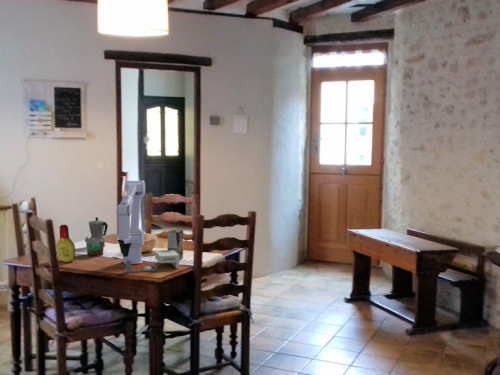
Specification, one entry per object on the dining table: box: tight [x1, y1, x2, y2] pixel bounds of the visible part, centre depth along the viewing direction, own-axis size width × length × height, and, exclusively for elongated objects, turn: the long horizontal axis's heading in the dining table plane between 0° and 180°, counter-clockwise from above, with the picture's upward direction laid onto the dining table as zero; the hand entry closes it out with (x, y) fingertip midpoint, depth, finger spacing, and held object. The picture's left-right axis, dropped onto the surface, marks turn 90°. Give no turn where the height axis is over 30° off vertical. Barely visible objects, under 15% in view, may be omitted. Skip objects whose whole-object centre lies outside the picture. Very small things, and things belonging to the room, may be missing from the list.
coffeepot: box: [88, 217, 109, 247], centre depth 345 cm, size 15×9×18 cm, turn 59°
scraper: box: [125, 260, 158, 274], centre depth 290 cm, size 15×11×6 cm
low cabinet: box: [154, 249, 180, 269], centre depth 298 cm, size 10×15×7 cm
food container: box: [84, 236, 106, 257], centre depth 321 cm, size 12×6×10 cm, turn 68°
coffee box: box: [167, 229, 184, 262], centre depth 312 cm, size 9×6×16 cm
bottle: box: [55, 224, 76, 263], centre depth 305 cm, size 12×6×20 cm, turn 60°
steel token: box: [143, 265, 154, 270], centre depth 293 cm, size 5×5×1 cm
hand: (124, 255), depth 285 cm, fingers open, 7 cm apart
